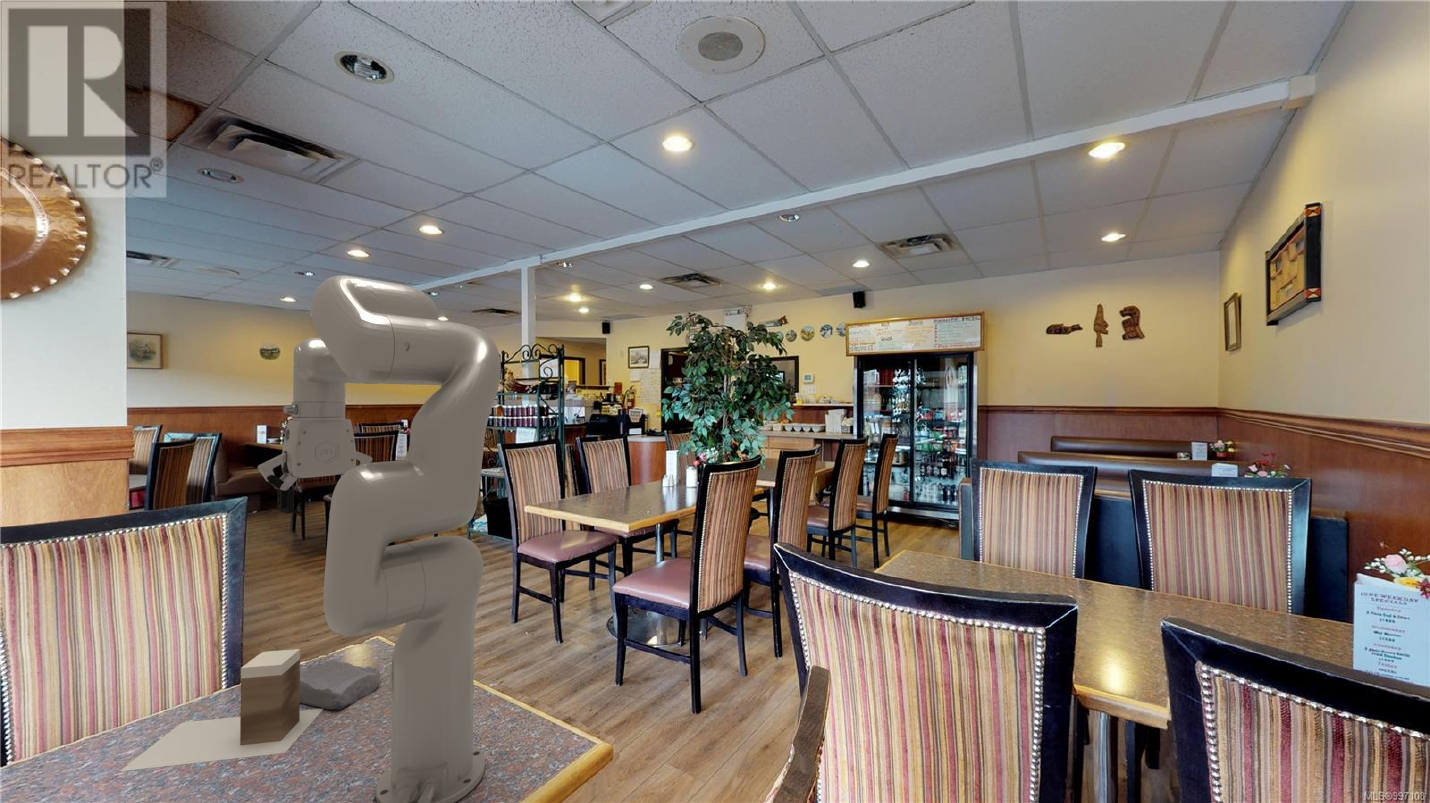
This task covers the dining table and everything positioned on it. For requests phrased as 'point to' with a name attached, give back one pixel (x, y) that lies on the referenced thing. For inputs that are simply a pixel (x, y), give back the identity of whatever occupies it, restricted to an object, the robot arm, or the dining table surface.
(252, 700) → the walnut block
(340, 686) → the stone block
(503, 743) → the dining table surface
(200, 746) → the beige mat
